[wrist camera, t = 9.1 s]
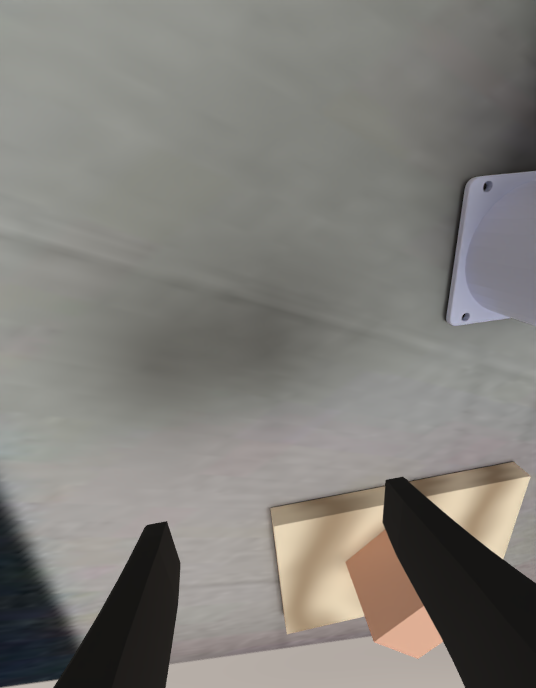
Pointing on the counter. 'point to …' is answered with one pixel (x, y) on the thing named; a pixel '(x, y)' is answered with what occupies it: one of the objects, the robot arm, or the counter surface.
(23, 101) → the counter surface
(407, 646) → the terracotta cube
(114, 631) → the robot arm
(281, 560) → the birch board
